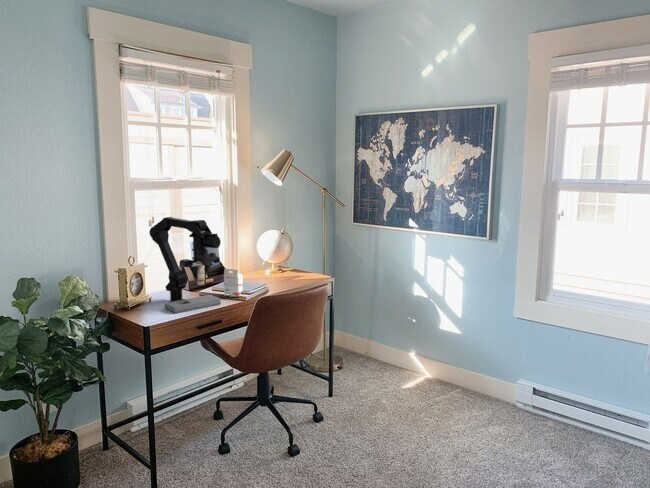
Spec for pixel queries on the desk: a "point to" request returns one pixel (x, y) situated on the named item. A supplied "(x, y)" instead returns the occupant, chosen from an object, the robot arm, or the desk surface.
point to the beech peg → (200, 274)
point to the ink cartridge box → (233, 282)
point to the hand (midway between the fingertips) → (200, 278)
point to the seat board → (192, 304)
